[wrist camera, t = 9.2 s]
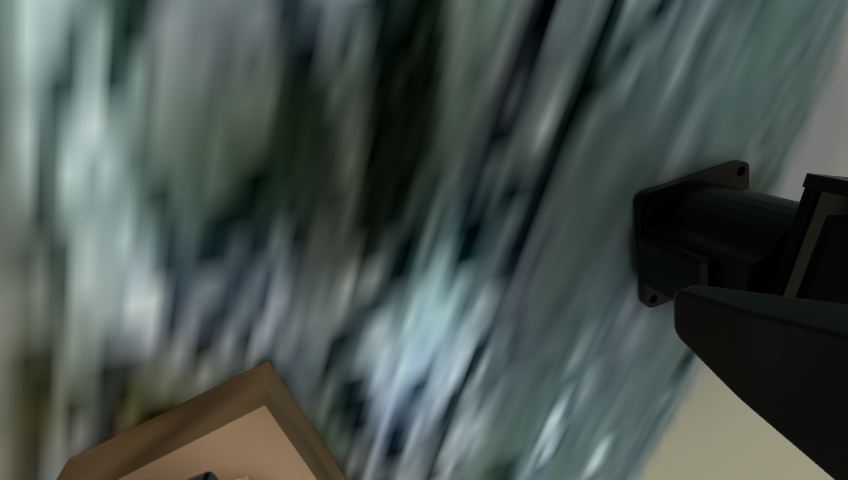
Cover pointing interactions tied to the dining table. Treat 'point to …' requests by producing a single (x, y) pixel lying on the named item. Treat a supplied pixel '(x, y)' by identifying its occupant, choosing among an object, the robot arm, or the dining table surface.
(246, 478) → the cube
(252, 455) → the walnut block
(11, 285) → the dining table surface
